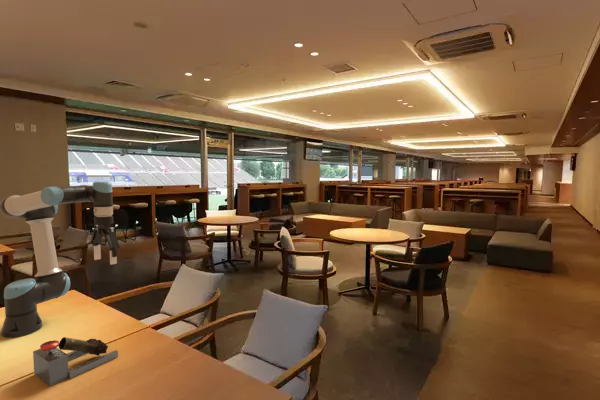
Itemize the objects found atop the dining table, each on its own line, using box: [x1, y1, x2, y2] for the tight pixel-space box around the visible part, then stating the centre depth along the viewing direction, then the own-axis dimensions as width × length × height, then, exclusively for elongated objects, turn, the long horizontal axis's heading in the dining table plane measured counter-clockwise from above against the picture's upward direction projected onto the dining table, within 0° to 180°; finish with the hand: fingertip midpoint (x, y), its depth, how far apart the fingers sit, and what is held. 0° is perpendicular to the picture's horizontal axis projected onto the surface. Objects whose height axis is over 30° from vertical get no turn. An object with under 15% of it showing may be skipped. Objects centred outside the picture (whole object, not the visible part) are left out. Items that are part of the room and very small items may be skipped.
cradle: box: [32, 340, 119, 387], centre depth 134 cm, size 15×24×12 cm, turn 148°
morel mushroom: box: [58, 336, 109, 357], centre depth 137 cm, size 18×7×6 cm
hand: (105, 261), depth 157 cm, fingers open, 13 cm apart
